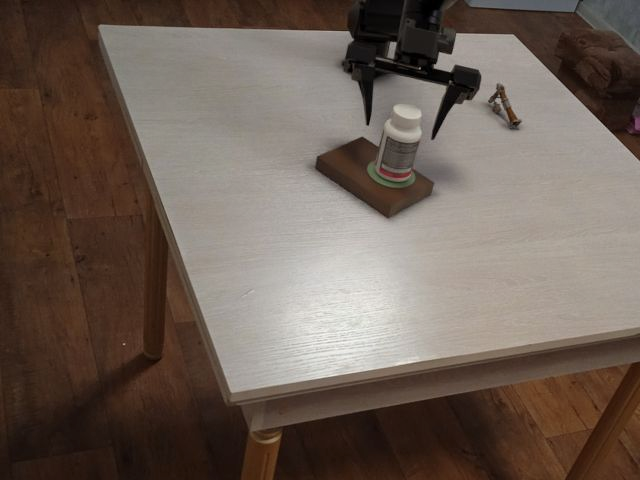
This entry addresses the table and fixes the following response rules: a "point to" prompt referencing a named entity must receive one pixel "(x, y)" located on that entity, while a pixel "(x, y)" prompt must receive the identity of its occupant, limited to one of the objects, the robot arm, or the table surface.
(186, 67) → the table surface
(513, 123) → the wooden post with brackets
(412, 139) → the pill bottle
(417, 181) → the wooden coaster tray
